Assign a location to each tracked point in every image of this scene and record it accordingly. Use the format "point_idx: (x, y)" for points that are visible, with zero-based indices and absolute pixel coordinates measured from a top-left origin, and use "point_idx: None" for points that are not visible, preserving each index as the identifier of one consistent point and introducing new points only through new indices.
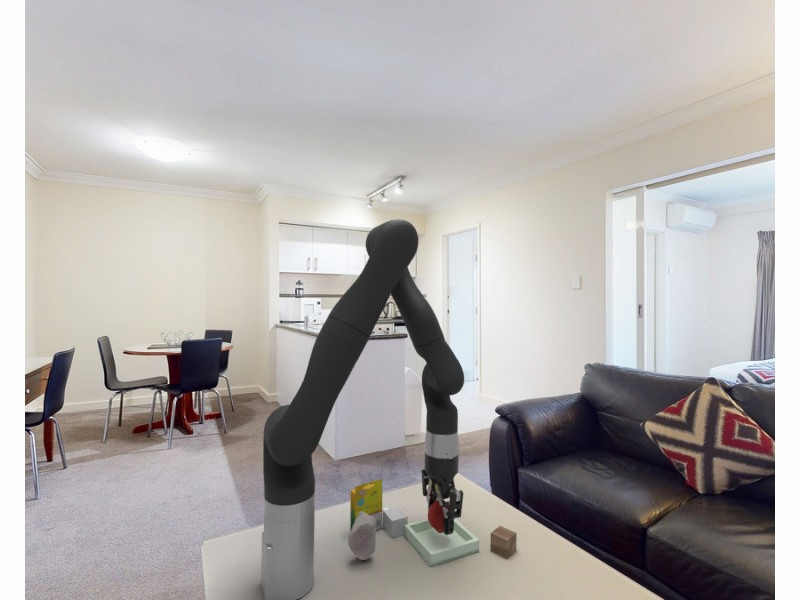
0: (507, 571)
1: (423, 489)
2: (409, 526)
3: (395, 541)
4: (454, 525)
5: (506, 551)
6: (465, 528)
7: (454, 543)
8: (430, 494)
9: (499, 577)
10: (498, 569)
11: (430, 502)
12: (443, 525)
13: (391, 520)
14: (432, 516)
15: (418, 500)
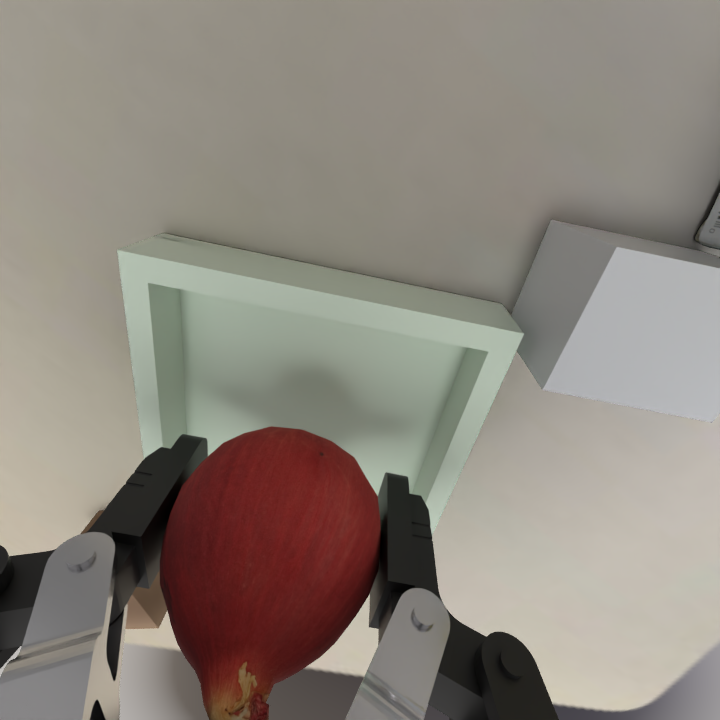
0: (32, 468)
1: (534, 718)
2: (481, 347)
3: (502, 215)
4: None
5: None
6: None
7: None
8: (348, 715)
9: (4, 426)
10: (52, 454)
11: (397, 598)
12: (176, 475)
13: (627, 249)
14: (242, 487)
15: (666, 549)
